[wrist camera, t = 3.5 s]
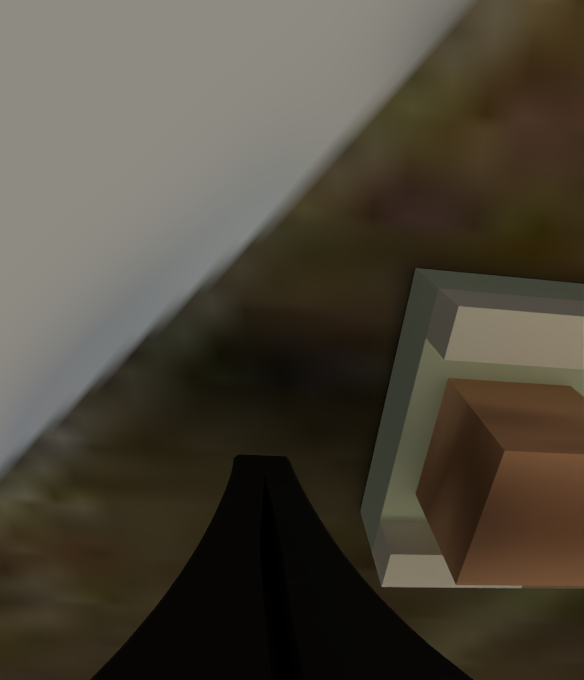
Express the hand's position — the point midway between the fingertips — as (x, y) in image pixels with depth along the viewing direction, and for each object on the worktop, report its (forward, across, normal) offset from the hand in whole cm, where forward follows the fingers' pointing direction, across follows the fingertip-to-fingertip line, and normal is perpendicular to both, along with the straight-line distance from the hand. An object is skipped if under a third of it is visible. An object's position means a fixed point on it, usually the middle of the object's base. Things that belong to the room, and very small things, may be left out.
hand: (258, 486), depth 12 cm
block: (+2, -8, 0) cm, 8 cm away
